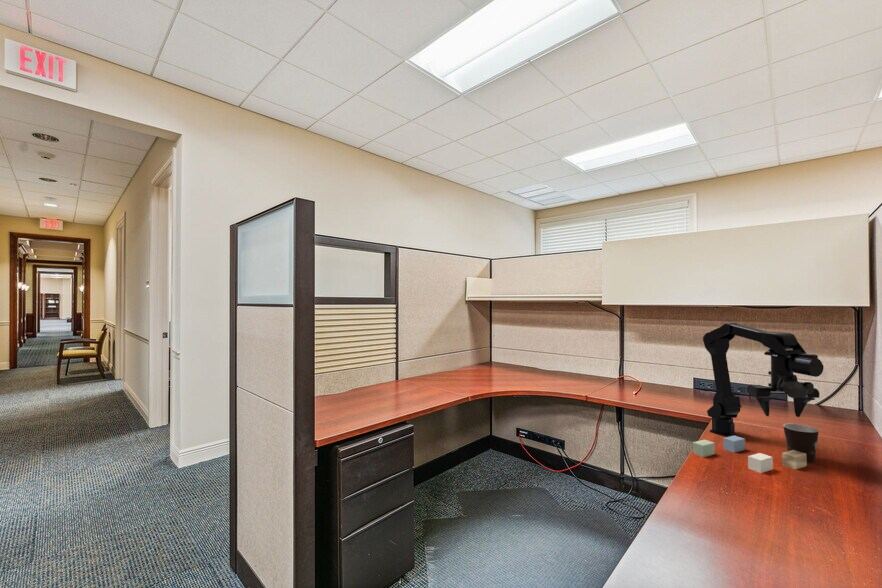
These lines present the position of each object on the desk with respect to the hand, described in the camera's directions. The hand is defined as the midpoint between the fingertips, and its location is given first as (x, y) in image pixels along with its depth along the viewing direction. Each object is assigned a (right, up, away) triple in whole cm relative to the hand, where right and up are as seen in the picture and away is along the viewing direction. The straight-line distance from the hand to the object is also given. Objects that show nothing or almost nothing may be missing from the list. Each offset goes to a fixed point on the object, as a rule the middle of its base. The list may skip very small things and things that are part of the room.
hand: (782, 416), depth 131 cm
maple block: (-3, -13, -7) cm, 16 cm away
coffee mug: (+6, -13, -2) cm, 15 cm away
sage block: (-24, -14, +3) cm, 28 cm away
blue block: (-12, -14, +6) cm, 19 cm away
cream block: (-15, -14, -9) cm, 22 cm away
